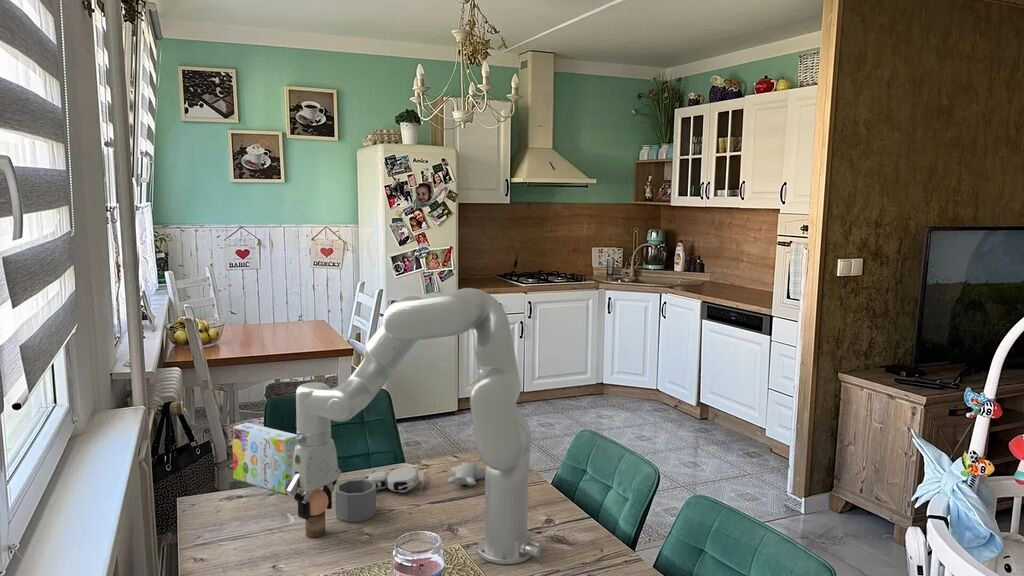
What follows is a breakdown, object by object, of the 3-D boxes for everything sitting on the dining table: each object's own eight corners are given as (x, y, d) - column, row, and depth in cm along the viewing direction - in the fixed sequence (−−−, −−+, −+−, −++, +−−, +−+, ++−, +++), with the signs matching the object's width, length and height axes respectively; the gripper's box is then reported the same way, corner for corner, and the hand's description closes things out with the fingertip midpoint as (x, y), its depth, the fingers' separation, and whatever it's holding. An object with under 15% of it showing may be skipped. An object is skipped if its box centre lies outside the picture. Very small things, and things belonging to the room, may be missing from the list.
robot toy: (359, 500, 186) (416, 497, 186) (358, 484, 186) (415, 480, 186) (367, 482, 198) (421, 479, 198) (366, 467, 198) (420, 463, 198)
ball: (334, 513, 165) (333, 488, 165) (314, 522, 160) (313, 497, 160) (316, 507, 169) (315, 482, 168) (296, 516, 163) (295, 491, 163)
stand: (329, 532, 166) (329, 512, 165) (314, 539, 162) (314, 518, 161) (316, 527, 168) (316, 507, 167) (301, 534, 164) (301, 514, 164)
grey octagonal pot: (383, 511, 177) (383, 484, 176) (356, 526, 169) (355, 497, 168) (356, 502, 182) (355, 476, 182) (327, 516, 174) (327, 488, 174)
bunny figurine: (487, 460, 203) (478, 473, 188) (486, 478, 203) (478, 493, 188) (454, 458, 204) (443, 471, 189) (454, 476, 204) (443, 491, 189)
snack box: (301, 488, 191) (300, 434, 189) (285, 495, 186) (283, 440, 185) (248, 472, 202) (246, 421, 200) (231, 479, 197) (229, 426, 195)
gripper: (295, 451, 153) (296, 530, 155) (353, 430, 167) (354, 503, 170) (272, 444, 157) (273, 522, 159) (330, 424, 171) (331, 496, 174)
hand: (315, 512), depth 164 cm, fingers closed on ball, 6 cm apart
